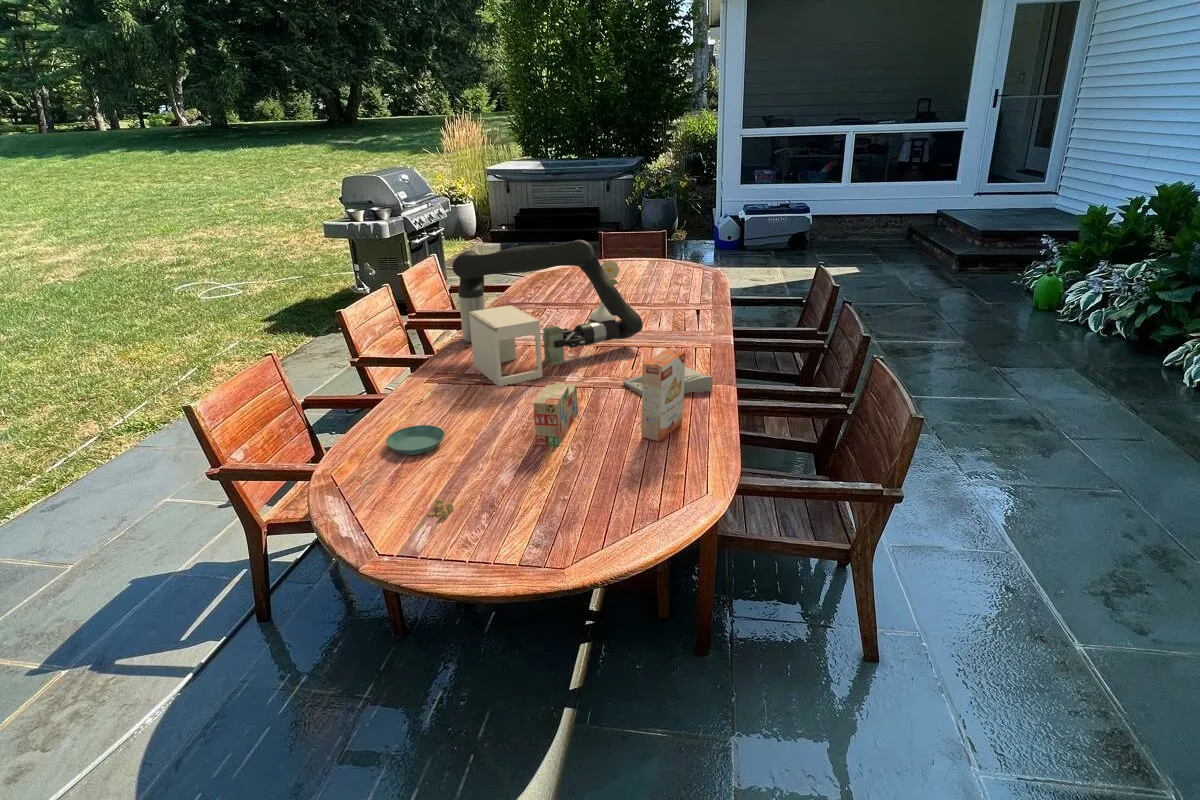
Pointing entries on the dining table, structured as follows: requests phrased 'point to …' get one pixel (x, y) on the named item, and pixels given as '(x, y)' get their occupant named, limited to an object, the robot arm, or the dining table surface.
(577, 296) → the dining table surface
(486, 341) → the cubby
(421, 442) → the saucer
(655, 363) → the cracker box
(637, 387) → the ramp
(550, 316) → the dining table surface
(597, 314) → the flower in vase
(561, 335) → the sage block
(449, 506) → the dice set
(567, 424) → the stack of blocks
